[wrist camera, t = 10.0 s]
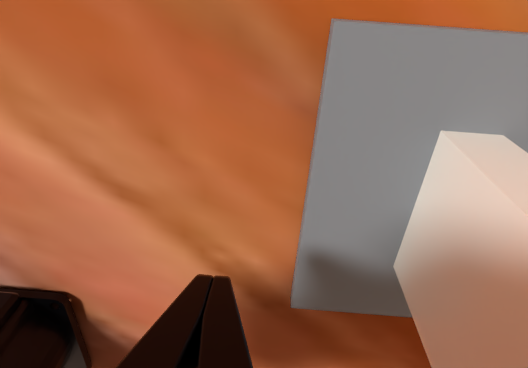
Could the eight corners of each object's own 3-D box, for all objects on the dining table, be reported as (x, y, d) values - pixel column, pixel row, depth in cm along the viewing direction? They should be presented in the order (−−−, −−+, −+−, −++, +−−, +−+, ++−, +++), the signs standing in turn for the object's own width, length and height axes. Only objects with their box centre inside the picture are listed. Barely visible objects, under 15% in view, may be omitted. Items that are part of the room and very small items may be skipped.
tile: (443, 270, 14) (560, 485, 8) (393, 266, 14) (473, 478, 8) (505, 135, 11) (767, 324, 5) (440, 130, 11) (625, 313, 5)
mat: (587, 320, 16) (597, 332, 16) (290, 297, 16) (290, 307, 16) (815, 53, 10) (844, 57, 9) (331, 18, 10) (334, 20, 10)
